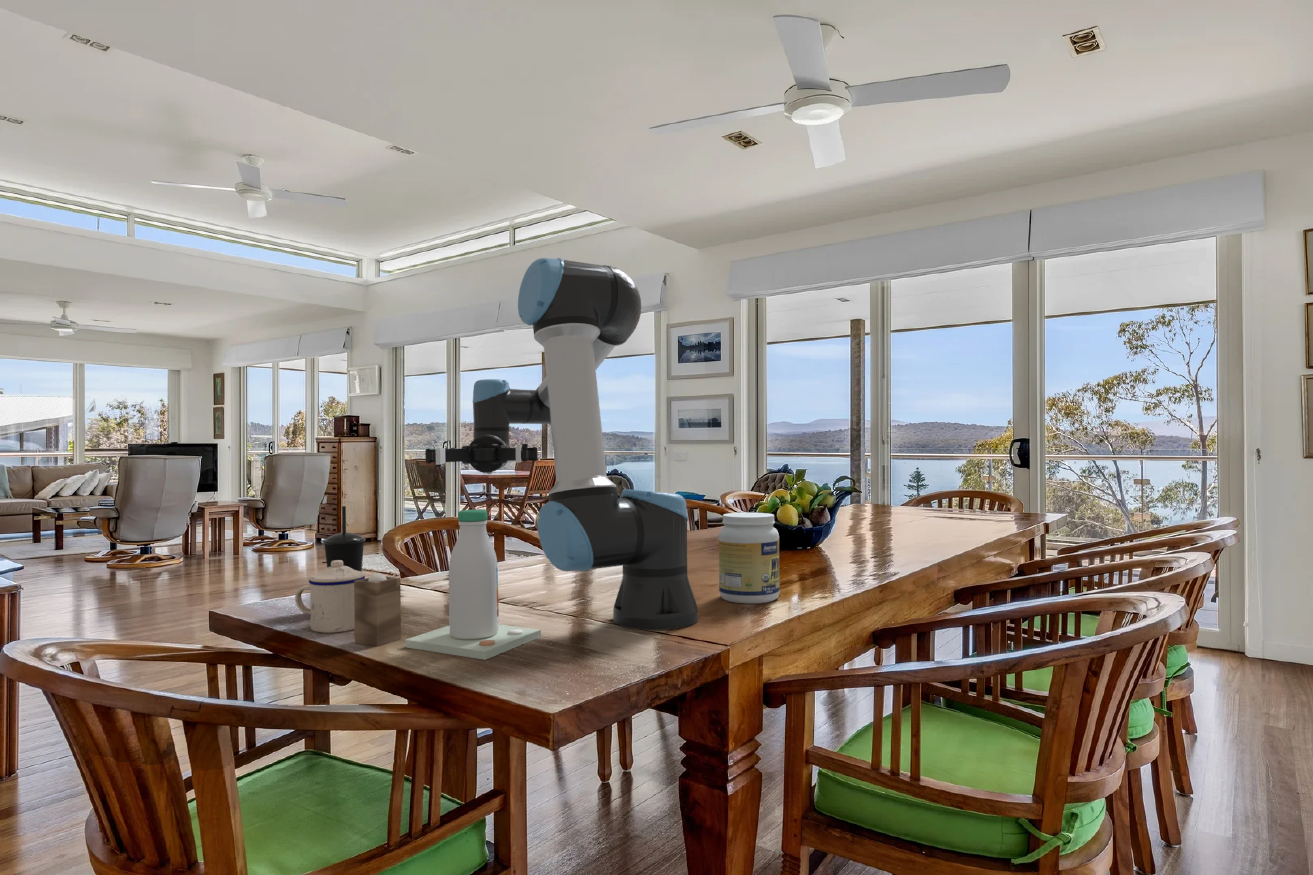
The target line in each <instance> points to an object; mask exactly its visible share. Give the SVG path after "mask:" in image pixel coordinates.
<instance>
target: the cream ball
mask: <svg viewBox="0 0 1313 875" xmlns="http://www.w3.org/2000/svg"><path fill="white" fill-rule="evenodd" d="M385 576H386V575H384V574H383V573H380V572H379V573H378V572H376V573H373V574H372V575H370V576H369V577H368V578H369V579H368V581H371V582H379V581H384V580H387V579H386V577H387V576H386V577H385Z"/></svg>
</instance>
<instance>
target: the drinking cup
mask: <svg viewBox="0 0 1313 875" xmlns="http://www.w3.org/2000/svg"><path fill="white" fill-rule="evenodd" d="M346 507H347V506H346V505H342V506H341V517H342V518H341V524H342V531H341V532H338V533H335V534H333V535H330V536H329V537H327V538H324V539H322V544H324V551H325V552H324V553H325V560H326V561H325V562H326V568H328V567H331V562H332V561H335V560H342V561H343V566H348V567H350V568H352V569H354V570H356V571H361V572H363V571H362V570H363V559H364V558H363V557H364V556H363V555H364V546H365V544H364V543H365V541H366V537H365V536H361V535H360V534H357V533H355V532H347V510H346V509H347V508H346Z"/></svg>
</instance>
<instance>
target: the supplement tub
mask: <svg viewBox="0 0 1313 875" xmlns="http://www.w3.org/2000/svg"><path fill="white" fill-rule="evenodd" d="M775 523H776V521H775V514H773V513H766V512H730V513H729V512H728V513H724V514H723V515H722V522H721V524H723V525H724V527H722V528H720V530H719V532H718V592H719V595H720V597H721V599H723V600H725V601H727V602H730V603H736V604H765V603H770V602H773V601H775V600H776V599H778V597H779V595H780V535H779V532H778V531H779V530H778V529H777V528H775V527H774V524H775Z"/></svg>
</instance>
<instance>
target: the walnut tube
mask: <svg viewBox="0 0 1313 875" xmlns="http://www.w3.org/2000/svg"><path fill="white" fill-rule="evenodd" d="M384 576H385V577H386V579H387V580H384V581H379V582H371V581H368V579H369V577H367V578H366V577H365V579H361V580H356V581H354V619H355V629H354V643H355V644H360V645H366V646H367V645H368V646H373V647H380V646H382V645H385V644H389V643H392V642H395V641H397V640H398V641H399V640H401V639H402V618H401V617H402V613H401V612H402V609H401V607H402V606H401V599H402V598H401V577H396V576H395V577H394V576H393V577H392V576H386V575H384Z"/></svg>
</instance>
